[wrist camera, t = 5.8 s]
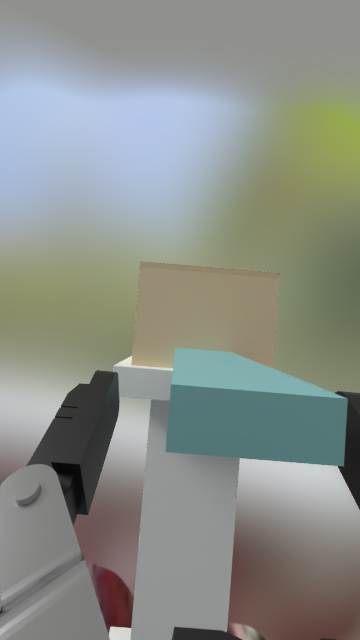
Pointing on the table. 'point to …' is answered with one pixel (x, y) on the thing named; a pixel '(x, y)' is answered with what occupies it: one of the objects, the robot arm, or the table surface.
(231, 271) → the carton
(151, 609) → the stand
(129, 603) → the table surface
